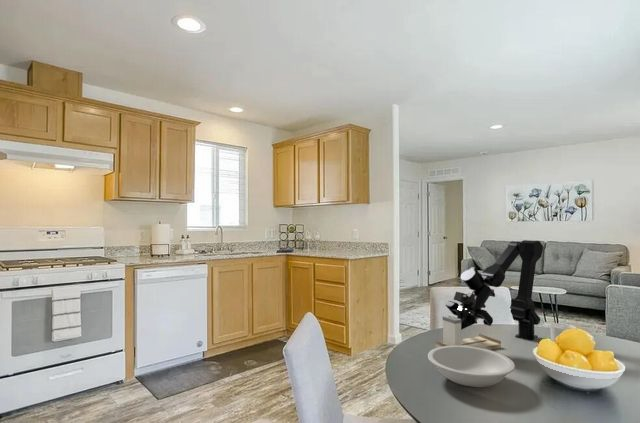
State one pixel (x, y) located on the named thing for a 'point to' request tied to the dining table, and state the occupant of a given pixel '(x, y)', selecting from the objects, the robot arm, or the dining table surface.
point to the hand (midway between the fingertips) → (456, 330)
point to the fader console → (477, 342)
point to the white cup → (558, 329)
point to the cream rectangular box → (451, 331)
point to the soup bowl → (471, 365)
